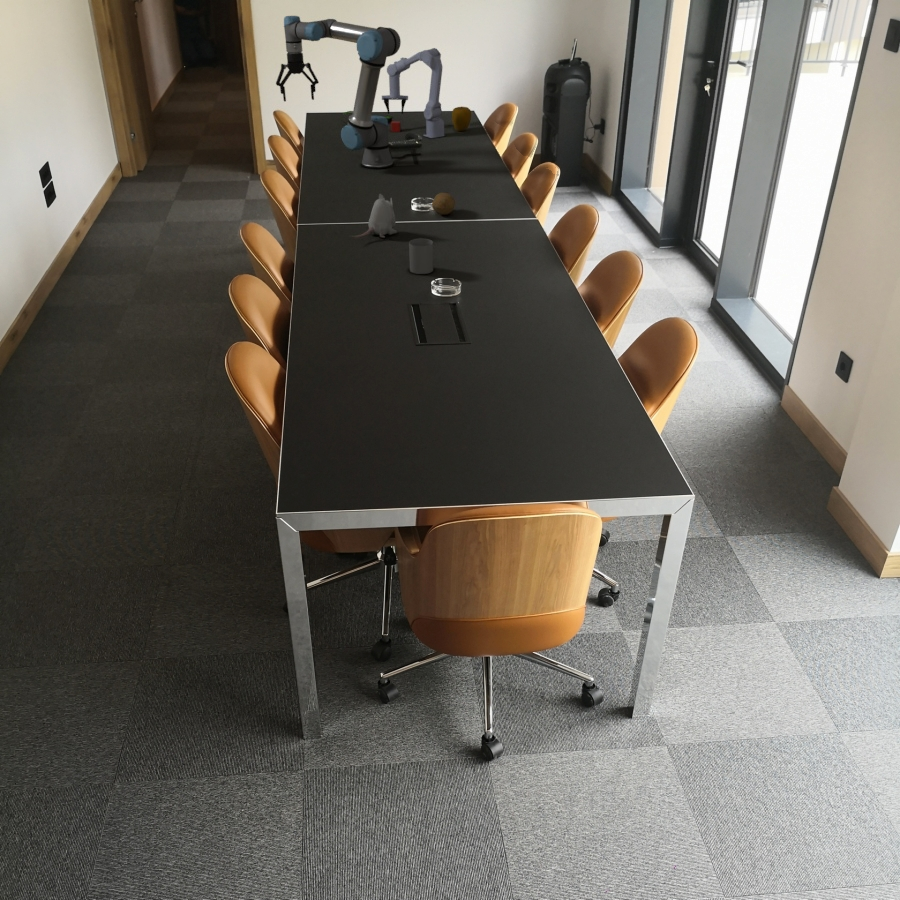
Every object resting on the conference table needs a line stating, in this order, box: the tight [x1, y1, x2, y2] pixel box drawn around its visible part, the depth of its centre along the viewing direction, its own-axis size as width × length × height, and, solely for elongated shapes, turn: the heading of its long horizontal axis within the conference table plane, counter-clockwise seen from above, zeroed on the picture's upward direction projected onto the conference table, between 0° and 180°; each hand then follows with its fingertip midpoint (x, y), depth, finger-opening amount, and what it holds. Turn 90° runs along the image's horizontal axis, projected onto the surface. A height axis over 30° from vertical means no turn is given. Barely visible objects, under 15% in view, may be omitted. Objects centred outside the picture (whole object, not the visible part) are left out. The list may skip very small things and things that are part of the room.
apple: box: [451, 105, 472, 132], centre depth 487 cm, size 11×11×13 cm
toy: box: [350, 193, 398, 239], centre depth 333 cm, size 9×24×15 cm, turn 137°
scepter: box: [341, 110, 394, 125], centre depth 505 cm, size 6×13×30 cm
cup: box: [408, 237, 434, 275], centre depth 305 cm, size 8×8×10 cm
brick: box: [390, 120, 402, 133], centre depth 489 cm, size 5×5×5 cm
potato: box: [431, 192, 456, 216], centre depth 360 cm, size 10×14×8 cm
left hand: (298, 100), depth 420 cm, fingers open, 13 cm apart
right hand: (395, 113), depth 485 cm, fingers open, 7 cm apart
